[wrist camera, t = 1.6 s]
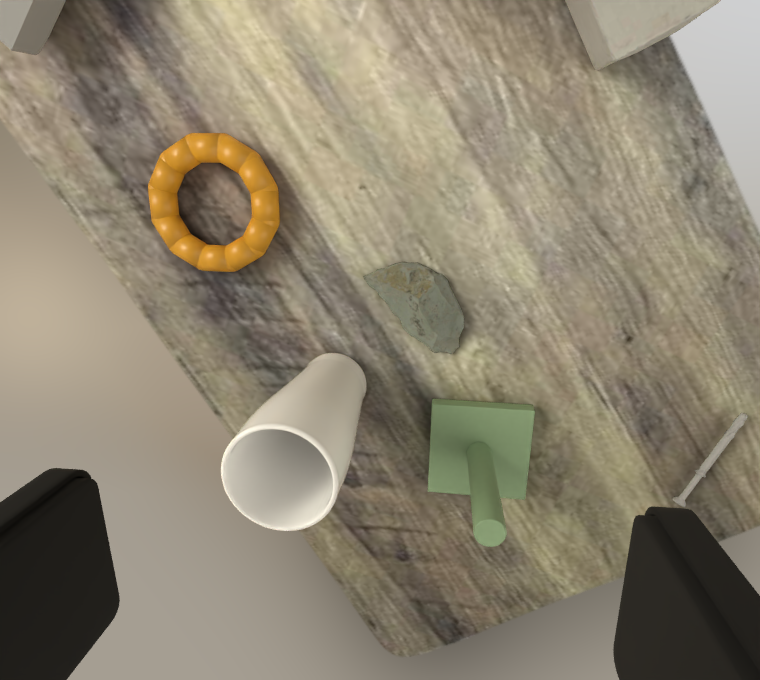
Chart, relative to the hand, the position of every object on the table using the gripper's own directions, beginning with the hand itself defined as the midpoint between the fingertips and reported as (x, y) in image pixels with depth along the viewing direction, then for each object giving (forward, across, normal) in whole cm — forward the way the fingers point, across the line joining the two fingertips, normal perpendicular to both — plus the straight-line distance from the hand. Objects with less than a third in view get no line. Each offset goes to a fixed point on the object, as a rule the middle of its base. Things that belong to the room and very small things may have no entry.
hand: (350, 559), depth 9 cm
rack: (+31, -5, +14) cm, 34 cm away
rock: (+31, 0, +2) cm, 31 cm away
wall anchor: (+31, -22, +14) cm, 41 cm away
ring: (+30, +16, -6) cm, 34 cm away
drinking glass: (+31, +7, +9) cm, 33 cm away
